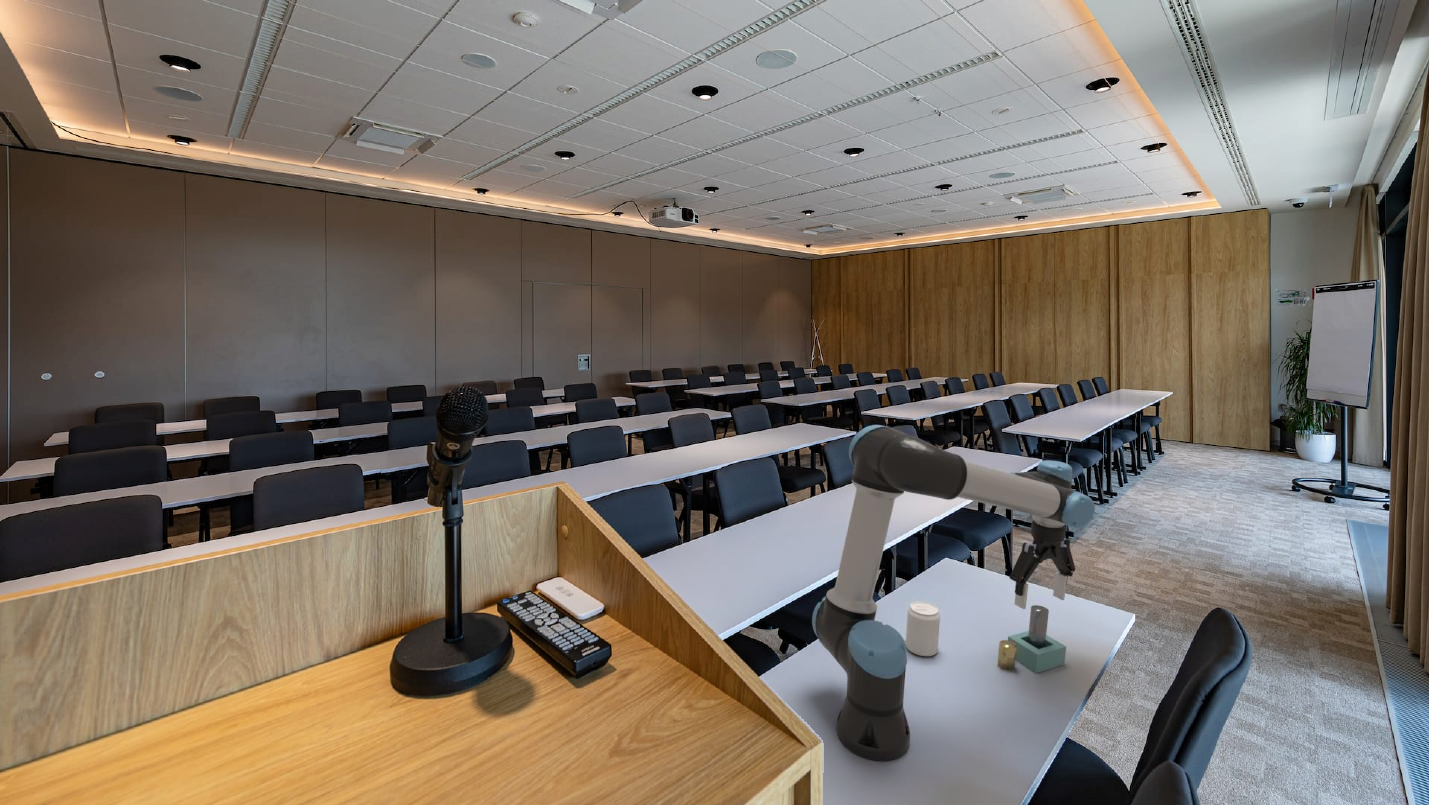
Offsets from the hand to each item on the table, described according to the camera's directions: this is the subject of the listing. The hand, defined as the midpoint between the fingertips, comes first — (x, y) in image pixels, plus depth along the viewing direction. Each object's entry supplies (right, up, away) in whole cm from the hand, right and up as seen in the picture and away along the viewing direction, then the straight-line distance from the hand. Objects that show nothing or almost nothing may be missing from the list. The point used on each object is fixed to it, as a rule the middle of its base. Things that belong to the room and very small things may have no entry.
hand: (1039, 602), depth 155 cm
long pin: (0, -16, +3) cm, 16 cm away
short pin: (-9, -16, 0) cm, 18 cm away
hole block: (0, -16, +3) cm, 16 cm away
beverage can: (-28, -15, +7) cm, 32 cm away
